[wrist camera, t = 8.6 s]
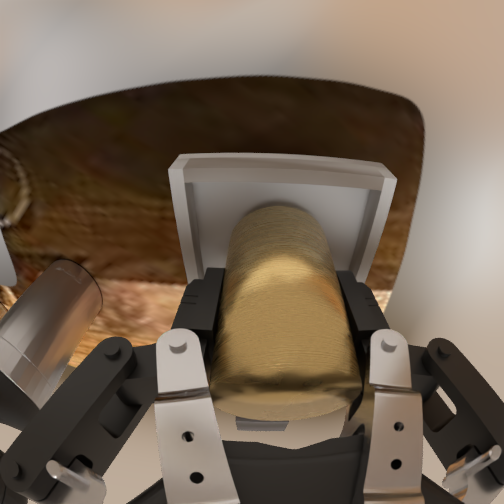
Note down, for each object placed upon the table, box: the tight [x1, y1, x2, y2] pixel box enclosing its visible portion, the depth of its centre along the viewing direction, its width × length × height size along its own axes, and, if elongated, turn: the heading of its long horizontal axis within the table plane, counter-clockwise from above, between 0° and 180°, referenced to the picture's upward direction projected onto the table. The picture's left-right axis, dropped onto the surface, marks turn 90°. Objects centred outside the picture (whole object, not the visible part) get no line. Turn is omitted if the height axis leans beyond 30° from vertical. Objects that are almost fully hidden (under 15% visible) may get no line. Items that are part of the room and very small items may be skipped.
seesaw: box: [168, 153, 397, 431], centre depth 21 cm, size 33×9×4 cm, turn 179°
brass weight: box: [209, 206, 362, 421], centre depth 10 cm, size 4×4×7 cm
